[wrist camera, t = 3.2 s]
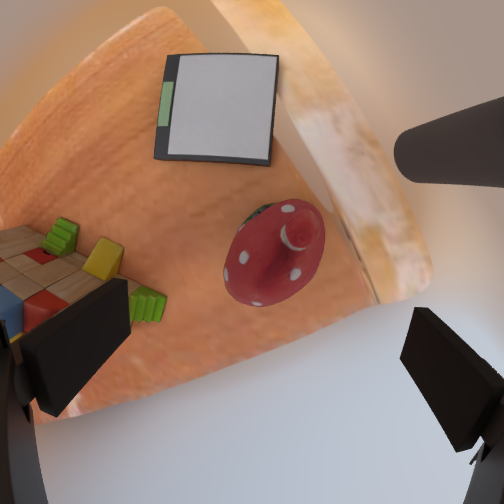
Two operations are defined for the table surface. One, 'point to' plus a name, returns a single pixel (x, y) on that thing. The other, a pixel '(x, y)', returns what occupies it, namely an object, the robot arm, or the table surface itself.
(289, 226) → the decorative ornament
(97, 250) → the block set
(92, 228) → the table surface
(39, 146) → the table surface
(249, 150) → the kitchen scale
